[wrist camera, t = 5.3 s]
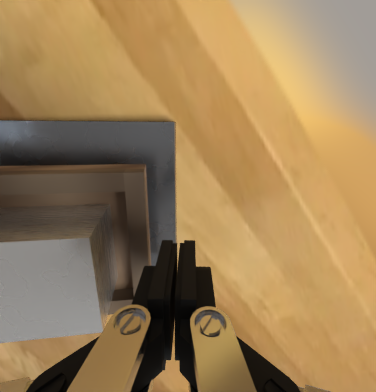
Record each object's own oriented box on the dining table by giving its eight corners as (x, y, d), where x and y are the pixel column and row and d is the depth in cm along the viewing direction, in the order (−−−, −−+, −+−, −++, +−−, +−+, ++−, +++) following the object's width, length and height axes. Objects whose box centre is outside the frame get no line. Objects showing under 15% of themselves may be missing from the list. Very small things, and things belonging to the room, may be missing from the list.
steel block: (109, 203, 13) (89, 237, 9) (117, 276, 14) (103, 332, 10) (-48, 209, 12) (-147, 250, 8) (-21, 287, 13) (-92, 352, 9)
